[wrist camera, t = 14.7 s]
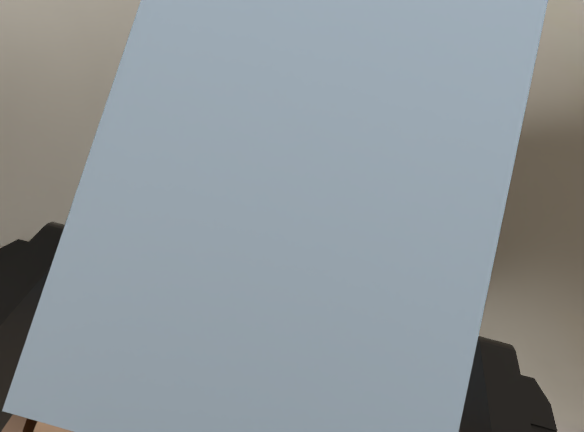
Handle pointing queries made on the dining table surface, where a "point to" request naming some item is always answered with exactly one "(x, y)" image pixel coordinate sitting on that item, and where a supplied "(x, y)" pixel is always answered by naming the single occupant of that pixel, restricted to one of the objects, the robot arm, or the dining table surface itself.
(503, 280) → the dining table surface
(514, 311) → the dining table surface
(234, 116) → the pale blue tall prism
